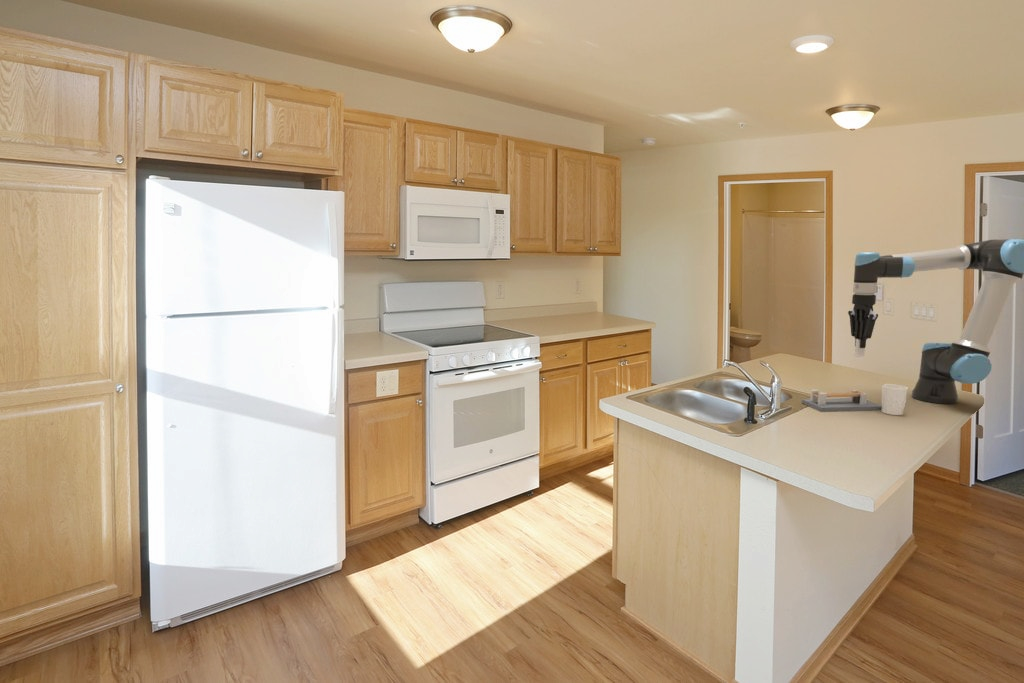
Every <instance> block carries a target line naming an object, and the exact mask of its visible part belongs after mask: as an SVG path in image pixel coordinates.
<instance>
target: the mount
mask: <svg viewBox="0 0 1024 683" xmlns="http://www.w3.org/2000/svg"><path fill="white" fill-rule="evenodd" d="M819 391H820V390H819V389H811V390H810V397H809V398H802V399H801V404H803V403H804V404H803V405H805V406H807V405H808V406H807V407H810V408H812V409H813V410H814V409H815V410H817V411H819V412H821V413H823V412H860V411H861V412H862V411H868V412H869V411H881V409H882V404H879V403H877V402H873V401H871V400H869V399H868V394H867V393H864V394H860V396H857V397H839V398H827V397H826V396H827V393H828V392H827V393H826V392H819ZM851 392H859V390H856V389H854V390H853V389H852V390H851V391H850V393H851ZM815 393H819V398H818V397H816V396H813V395H814V394H815Z"/></svg>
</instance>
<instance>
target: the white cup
mask: <svg viewBox="0 0 1024 683" xmlns="http://www.w3.org/2000/svg"><path fill="white" fill-rule="evenodd" d="M881 389H882V390H881V402H880V405H882V409H881V410H880V411H881V413H884V414H886V415H891V416H903V415H904V411H905V405H906V403H907V397H908V391H909V387H908V386H905V385H900V384H894V383H885V384H882V388H881Z"/></svg>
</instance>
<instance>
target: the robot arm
mask: <svg viewBox="0 0 1024 683" xmlns="http://www.w3.org/2000/svg"><path fill="white" fill-rule="evenodd" d="M853 266H854V275H853V288H852V293H853V295H852V300H851V304H852V305H853V308H852V310H848V312H847V314H848V317H849V325H850V335H851V336H852V337H854V339H855V341H854V346H855V349H854V357H864V356H865V351H866V350H865V349H866V346H867V340H868V339H871V338H872V335H873V332H874V328H875V325H876V324H875V323H876V321H877V319H878V317H879V314H878V313H875V312H874V307H873V306H874V305H875V304H876V302H877V295H876V294H877V292H878V278H879V279H881V278H889V279H891V278H892V279H894V278H895V279H896V278H898V279H899V278H900V279H902V278H910V277H912V276H913V274H914V273H915V272H916V273H917V272H926V271H936V270H947V269H958V270H977V271H978V270H981V274H982V275H983V277H984V279H983V281H982V284H981V286H980V288H979V291H978V293H977V295H976V298H975V300H974V302H973V306H972V307H971V310H970V312H969V315H968V317H967V320H966V322H965V324H964V327H963V329H962V332H961V334H960V336H959V338H958V339H957V340H954V341H953V342H952V343H951V342H926V343H924V344H923V347H922V350H921V360H920V369H919V376H918V380H917V382H916V383H915V386H914V388H912V391H911V397H912V398H913V399H915V400H918V401H923V402H928V403H935V404H942V405H943V404H945V405H949V404H950V405H951V404H957V403H959V395H958V393H957V385H956V382H958V383H962V384H968V385H971V384H977V383H979V382H982V381H984V380H985V379H986V378H987V377H988V376H989V375H990V374H991V371H992V367H993V366H992V363H991V359H989V356H990V354H991V351H990V349H989V348H988V346H989V343H990V341H991V338H992V336H993V334H994V331H995V329H996V327H997V324H998V322H999V319H1000V317H1001V315H1002V313H1003V310H1004V308H1005V305H1006V304H1007V303H1006V302H1007V301H1008V298H1009V296H1010V294H1011V292H1012V289H1013V286H1014V284H1016V283H1018V282H1021V280H1022V279H1023V276H1024V239H1019V238H1009V239H1007V238H1006V239H988V240H982V241H978V242H977V241H976V242H971V243H967V244H966V243H965V244H964V243H963V244H959V245H958V246H956V247H953V248H944V249H936V250H933V249H932V250H925V251H915V252H909V253H907V252H905V253H898V254H888V255H887V254H886V255H880V253H879V252H877V251H875V252H874V251H872V252H871V251H868V252H867V251H866V252H865V251H864V252H858V253H857V254H856V255H855V261H854V265H853Z"/></svg>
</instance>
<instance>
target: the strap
mask: <svg viewBox="0 0 1024 683" xmlns="http://www.w3.org/2000/svg"><path fill="white" fill-rule="evenodd" d="M819 393H820V392H818V393H815V394H814V395H813V396H816V397H818V398H819ZM860 394H865V392H864V393H863V392H860V391H858V392H851V391H850V392H827V396H826V398H851V397H857V396H860Z"/></svg>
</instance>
